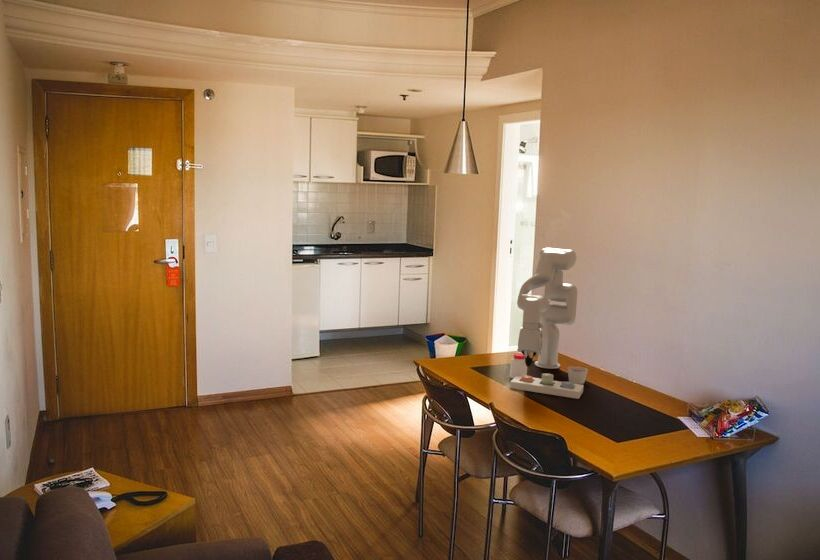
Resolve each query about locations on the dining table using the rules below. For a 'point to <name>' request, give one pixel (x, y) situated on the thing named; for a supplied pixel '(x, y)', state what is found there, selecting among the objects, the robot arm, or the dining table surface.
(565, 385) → the button slate
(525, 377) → the button terracotta
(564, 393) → the console
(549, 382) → the button sage
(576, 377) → the candle
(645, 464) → the dining table surface
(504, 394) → the dining table surface
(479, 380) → the dining table surface
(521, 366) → the pill bottle
